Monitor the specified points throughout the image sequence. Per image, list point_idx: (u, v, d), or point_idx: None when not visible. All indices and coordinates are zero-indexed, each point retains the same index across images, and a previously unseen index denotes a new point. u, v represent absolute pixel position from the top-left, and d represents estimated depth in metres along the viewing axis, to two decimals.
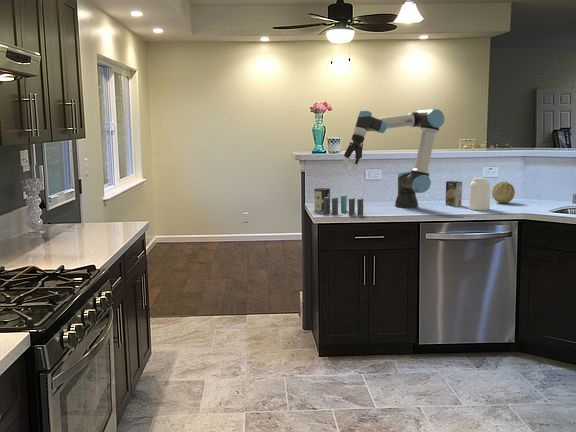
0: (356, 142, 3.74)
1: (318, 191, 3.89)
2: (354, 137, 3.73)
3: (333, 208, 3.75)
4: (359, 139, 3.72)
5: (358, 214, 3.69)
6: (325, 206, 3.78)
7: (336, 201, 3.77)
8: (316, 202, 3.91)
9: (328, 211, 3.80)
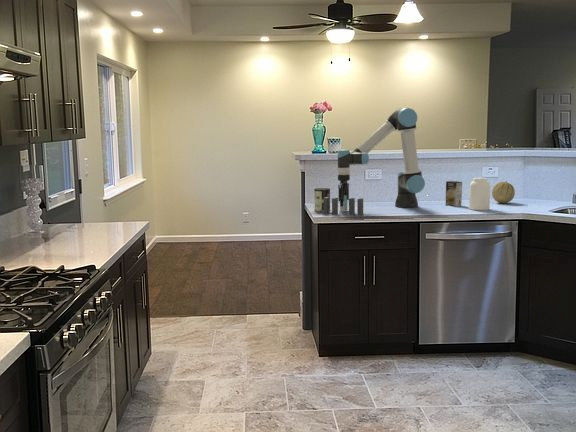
0: None
1: (318, 191, 3.89)
2: None
3: (333, 208, 3.75)
4: (340, 179, 3.85)
5: (358, 214, 3.69)
6: (325, 206, 3.78)
7: (336, 201, 3.77)
8: (316, 202, 3.91)
9: (328, 211, 3.80)
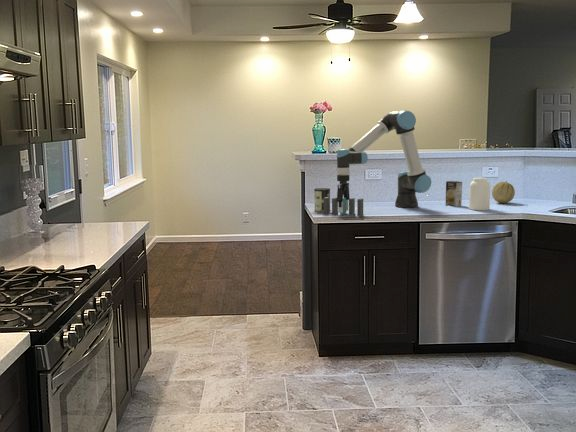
0: None
1: (318, 191, 3.89)
2: (337, 178, 3.72)
3: (333, 208, 3.75)
4: (339, 180, 3.70)
5: (358, 214, 3.69)
6: (325, 206, 3.78)
7: (336, 201, 3.77)
8: (316, 202, 3.91)
9: (328, 211, 3.80)
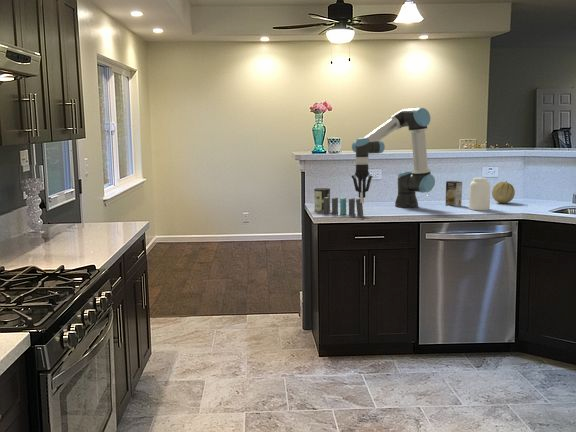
0: None
1: (318, 191, 3.89)
2: None
3: (333, 208, 3.75)
4: None
5: (358, 214, 3.69)
6: (325, 206, 3.78)
7: (336, 201, 3.77)
8: (316, 202, 3.91)
9: (328, 211, 3.80)
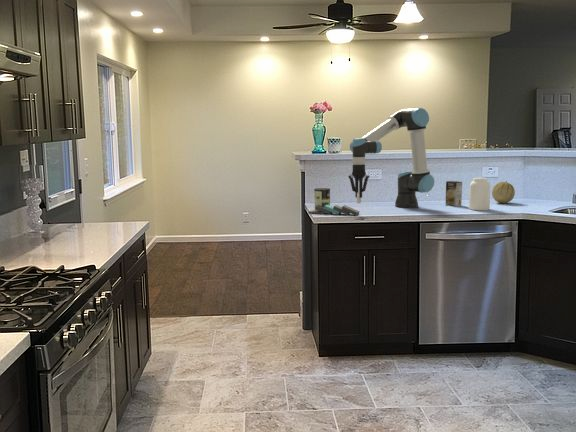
0: None
1: (318, 191, 3.89)
2: None
3: (324, 210, 3.78)
4: None
5: (355, 214, 3.70)
6: (316, 212, 3.81)
7: (320, 206, 3.82)
8: (316, 202, 3.91)
9: None
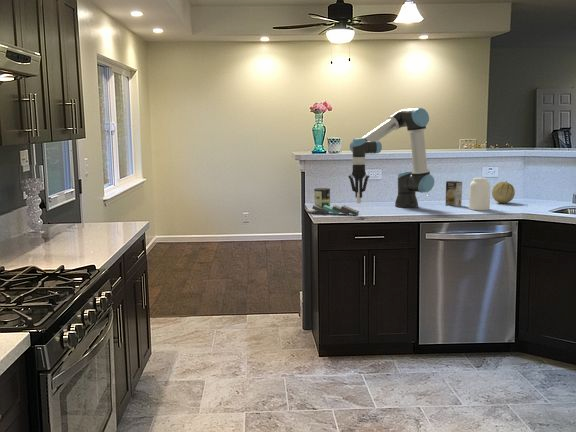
0: None
1: (318, 191, 3.89)
2: None
3: (321, 210, 3.77)
4: None
5: (354, 213, 3.70)
6: (314, 212, 3.81)
7: (317, 206, 3.80)
8: (316, 202, 3.91)
9: None
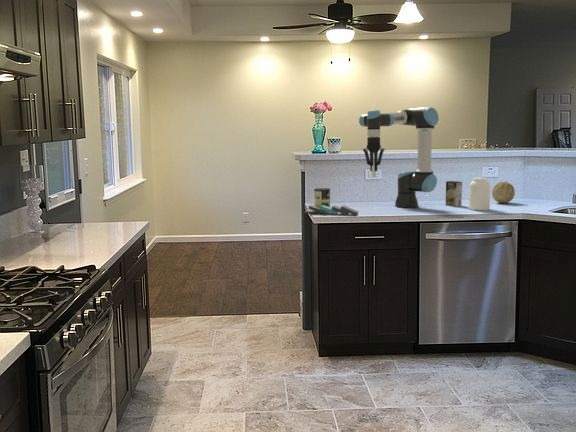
0: None
1: (318, 191, 3.89)
2: None
3: (318, 209, 3.77)
4: None
5: (354, 214, 3.70)
6: (312, 212, 3.81)
7: (313, 206, 3.80)
8: (316, 202, 3.91)
9: None
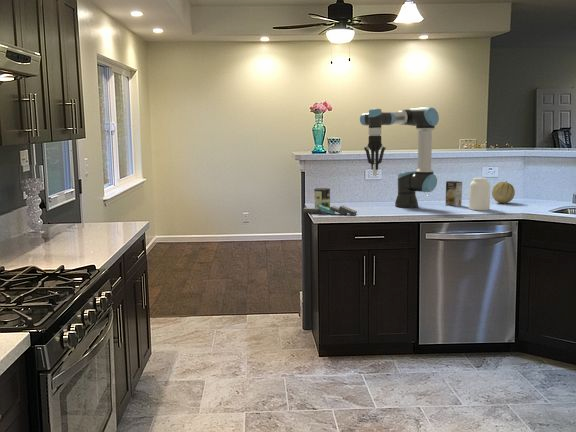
0: None
1: (318, 191, 3.89)
2: None
3: (312, 210, 3.79)
4: None
5: (352, 214, 3.70)
6: (311, 212, 3.82)
7: (308, 208, 3.83)
8: (316, 202, 3.91)
9: None
